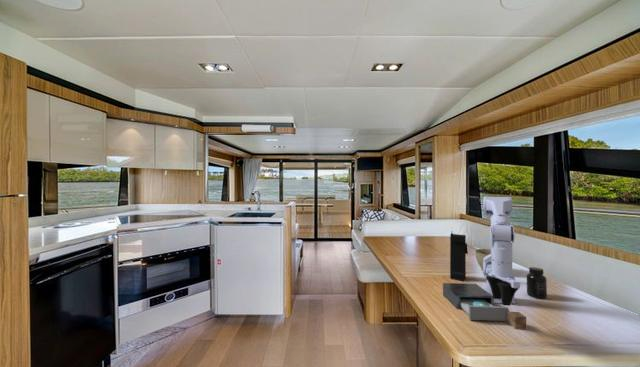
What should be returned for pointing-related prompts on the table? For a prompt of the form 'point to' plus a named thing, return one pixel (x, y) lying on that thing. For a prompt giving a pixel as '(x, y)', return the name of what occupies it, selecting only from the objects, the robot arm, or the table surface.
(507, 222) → the robot arm
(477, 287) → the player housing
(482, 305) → the disc
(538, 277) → the supplement bottle
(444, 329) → the table surface
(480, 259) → the planter bowl
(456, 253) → the portable radio
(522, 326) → the walnut block
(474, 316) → the tray
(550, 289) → the table surface
